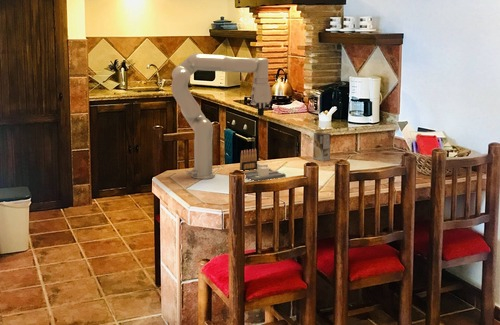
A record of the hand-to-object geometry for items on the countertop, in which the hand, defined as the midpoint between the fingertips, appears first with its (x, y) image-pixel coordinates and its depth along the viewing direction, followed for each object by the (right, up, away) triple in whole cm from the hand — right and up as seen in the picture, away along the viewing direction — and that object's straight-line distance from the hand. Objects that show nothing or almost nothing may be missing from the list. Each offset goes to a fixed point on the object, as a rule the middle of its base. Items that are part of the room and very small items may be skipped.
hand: (260, 115), depth 354 cm
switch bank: (+1, -33, 0) cm, 33 cm away
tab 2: (+1, -33, -5) cm, 33 cm away
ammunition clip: (-7, -30, +15) cm, 34 cm away
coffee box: (+37, -24, +43) cm, 62 cm away
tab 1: (+1, -31, +3) cm, 31 cm away
